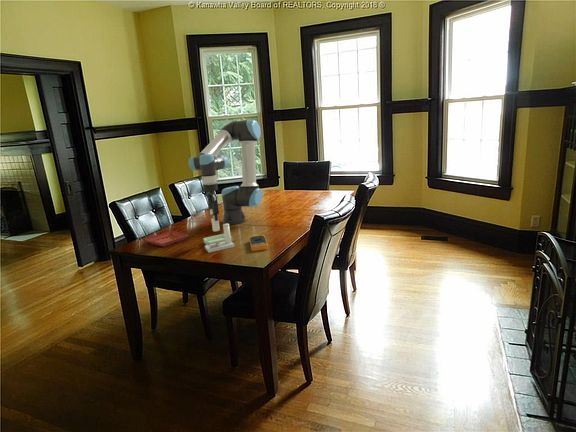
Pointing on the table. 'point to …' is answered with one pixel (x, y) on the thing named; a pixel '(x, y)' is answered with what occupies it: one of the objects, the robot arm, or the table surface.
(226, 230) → the fuse
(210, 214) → the fuse
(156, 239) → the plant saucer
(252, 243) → the multimeter
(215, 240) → the parts tray
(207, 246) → the fuse panel
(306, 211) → the table surface
